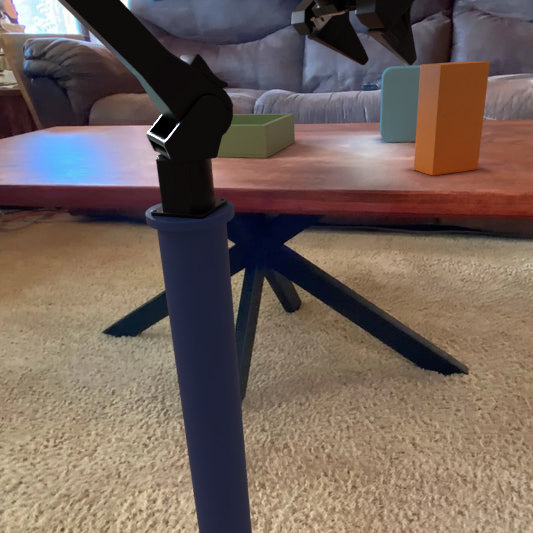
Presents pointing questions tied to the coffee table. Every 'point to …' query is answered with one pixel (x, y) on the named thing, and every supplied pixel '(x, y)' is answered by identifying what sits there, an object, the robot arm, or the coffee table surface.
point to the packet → (450, 116)
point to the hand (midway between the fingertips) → (388, 62)
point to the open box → (257, 135)
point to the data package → (399, 103)
